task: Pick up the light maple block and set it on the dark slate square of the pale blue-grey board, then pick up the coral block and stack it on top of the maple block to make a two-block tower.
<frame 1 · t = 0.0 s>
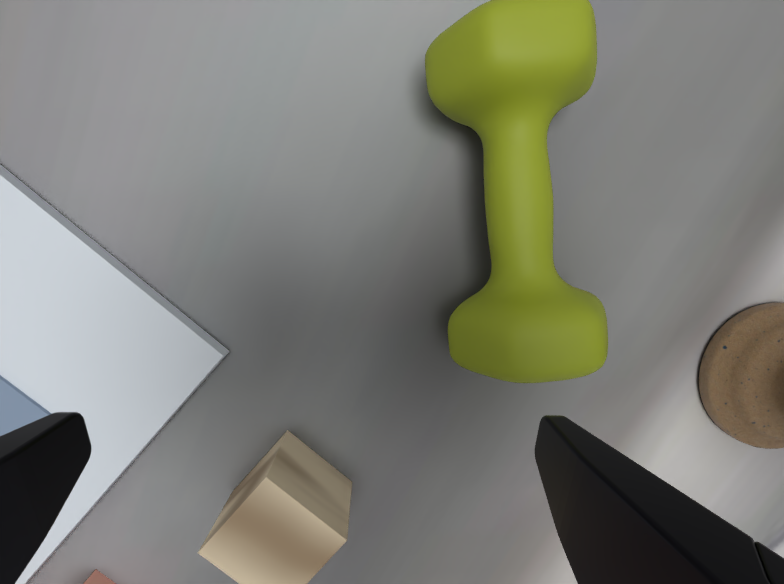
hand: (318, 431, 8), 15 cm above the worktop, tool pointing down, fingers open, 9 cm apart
dumbbell: (495, 210, 24), on the worktop
candle holder: (762, 371, 25), on the worktop
maple block: (292, 485, 25), on the worktop
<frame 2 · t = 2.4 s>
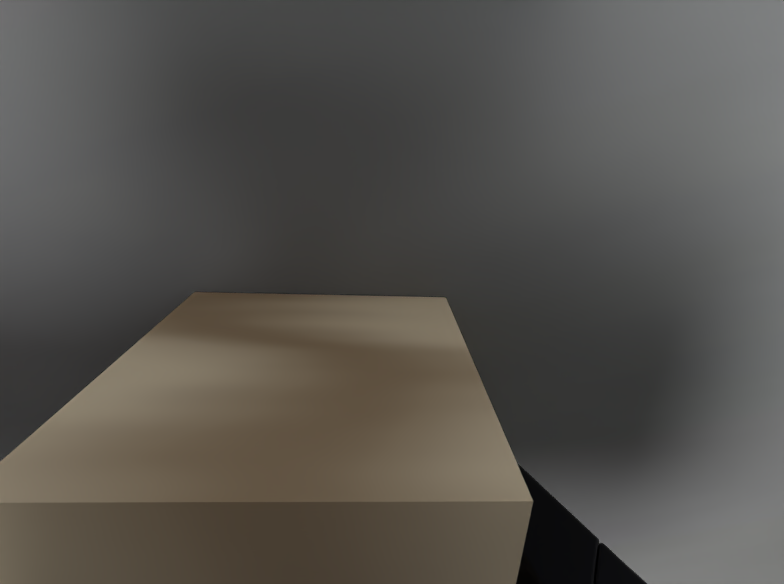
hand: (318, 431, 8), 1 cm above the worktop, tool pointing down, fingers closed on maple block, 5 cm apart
maple block: (324, 399, 9), on the worktop, touching gripper
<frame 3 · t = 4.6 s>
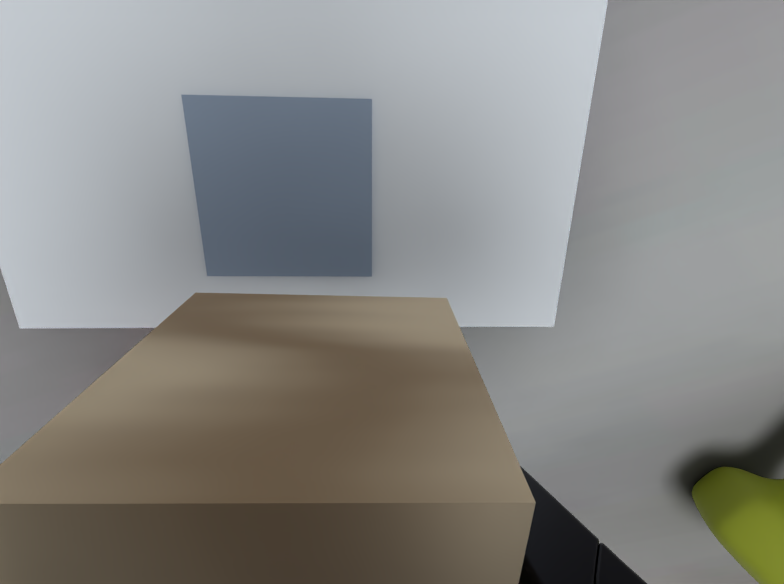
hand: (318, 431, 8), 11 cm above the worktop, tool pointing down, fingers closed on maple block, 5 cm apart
maple block: (325, 400, 9), point 10 cm above the worktop, touching gripper
blueprint board: (286, 139, 17), on the worktop
when the fingers open (3 cm above the worktop, at t = 6.7 s): maple block drops 1 cm, resting on blueprint board.
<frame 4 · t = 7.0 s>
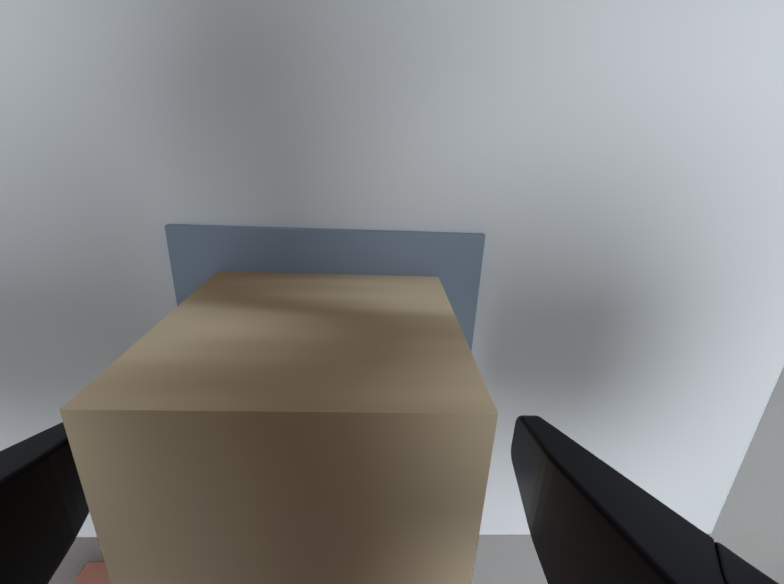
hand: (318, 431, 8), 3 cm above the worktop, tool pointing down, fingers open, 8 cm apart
maple block: (330, 368, 10), point 1 cm above the worktop, touching blueprint board
blueprint board: (333, 277, 11), on the worktop
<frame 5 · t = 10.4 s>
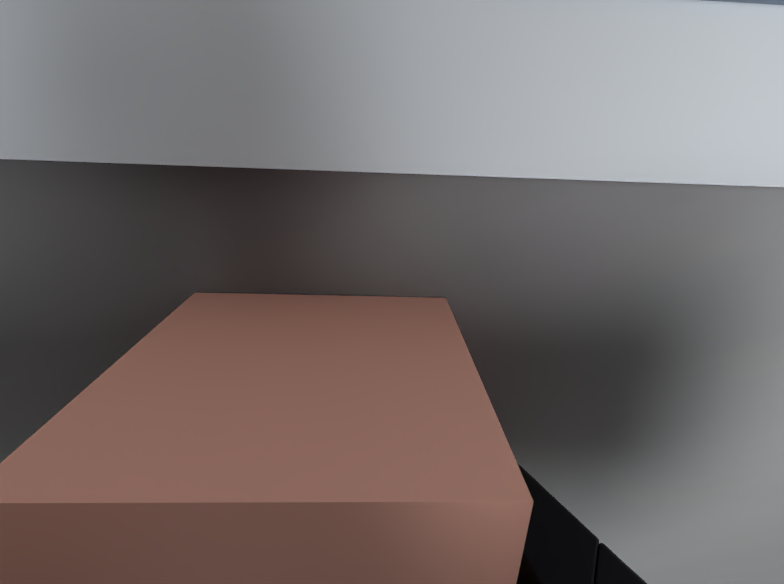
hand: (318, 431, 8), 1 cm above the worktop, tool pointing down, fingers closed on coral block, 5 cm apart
coral block: (324, 399, 9), on the worktop, touching gripper
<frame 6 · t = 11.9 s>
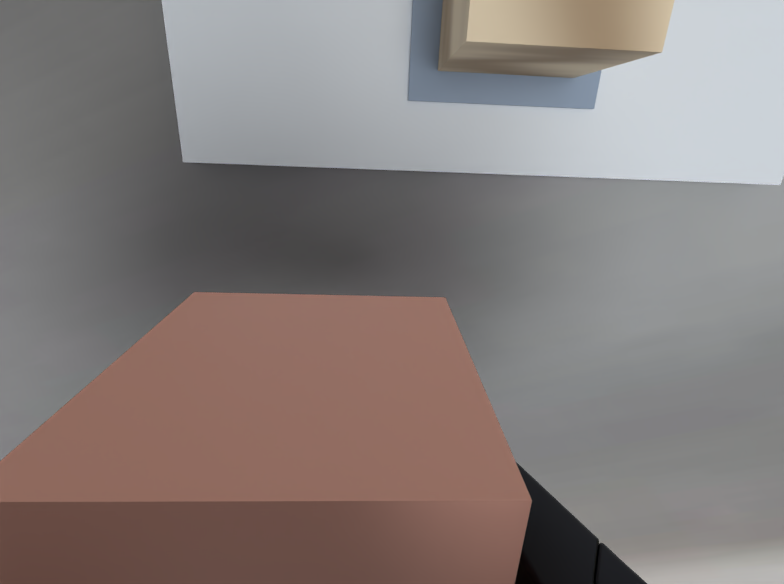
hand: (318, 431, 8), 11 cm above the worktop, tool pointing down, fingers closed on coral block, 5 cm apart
coral block: (324, 399, 9), point 10 cm above the worktop, touching gripper
when the fingers open (8 cm above the worktop, at t = 13.5 s): coral block drops 1 cm, resting on maple block.
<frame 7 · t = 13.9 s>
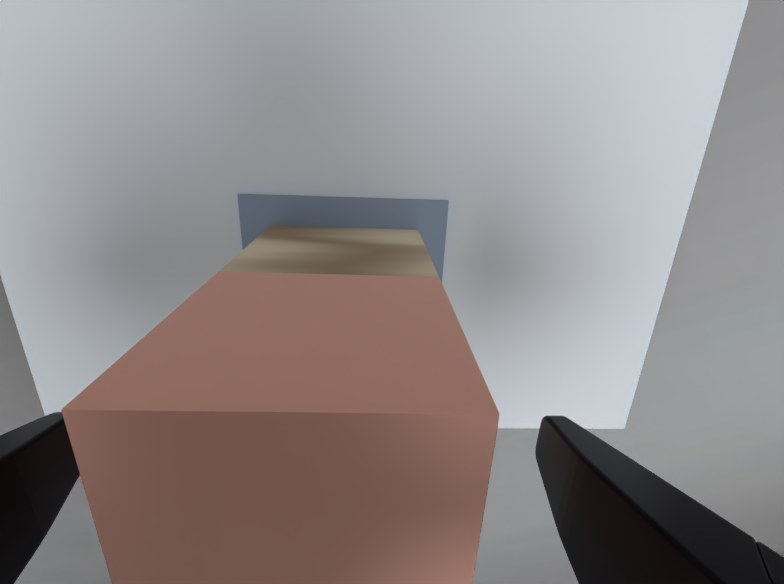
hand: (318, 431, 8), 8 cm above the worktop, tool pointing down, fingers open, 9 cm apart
maple block: (345, 295, 15), point 1 cm above the worktop, touching blueprint board, coral block
coral block: (331, 369, 10), point 6 cm above the worktop, touching maple block
blueprint board: (346, 233, 15), on the worktop
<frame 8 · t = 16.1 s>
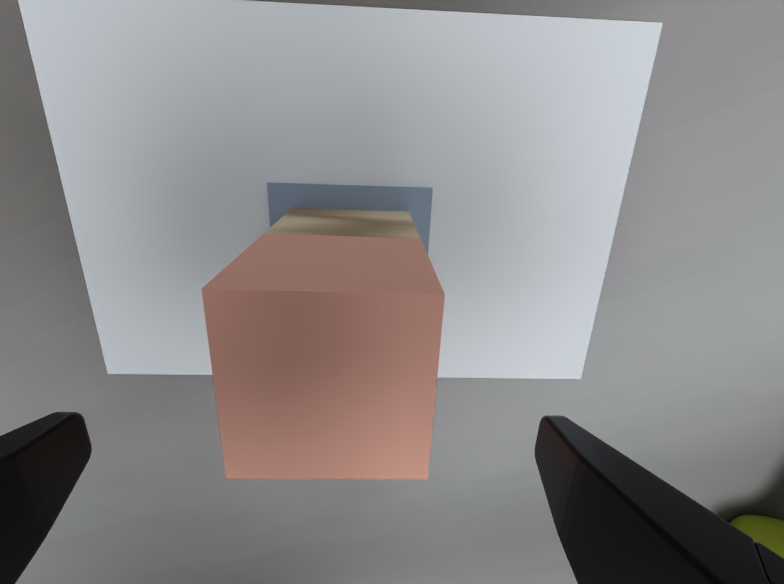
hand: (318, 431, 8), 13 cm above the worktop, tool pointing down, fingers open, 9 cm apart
maple block: (350, 264, 19), point 1 cm above the worktop, touching blueprint board, coral block
coral block: (342, 308, 14), point 6 cm above the worktop, touching maple block
blueprint board: (352, 215, 19), on the worktop
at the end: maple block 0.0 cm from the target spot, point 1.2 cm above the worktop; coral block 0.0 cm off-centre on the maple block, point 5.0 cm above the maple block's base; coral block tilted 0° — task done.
